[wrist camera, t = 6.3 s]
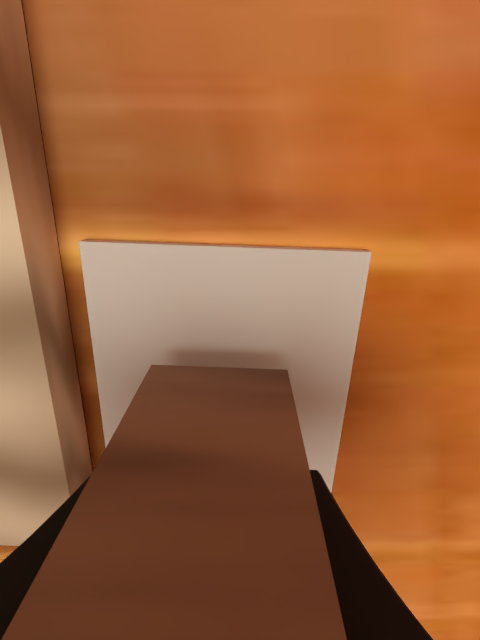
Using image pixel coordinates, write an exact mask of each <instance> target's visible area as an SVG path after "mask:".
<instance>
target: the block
mask: <svg viewBox="0 0 480 640" xmlns="http://www.w3.org/2000/svg"><path fill="white" fill-rule="evenodd" d="M1 640H347V638H346V633H345V629H344V624H343V620H342V615H341V611H340V606H339V602H338V597H337V593H336V588H335V583H334V579H333V574H332V570H331V565H330V561H329V556H328V552H327V547H326V543H325V538H324V533H323V529H322V524H321V520H320V515H319V511H318V506H317V502H316V497H315V492H314V488H313V483H312V479H311V474H310V470H309V465H308V461H307V456H306V452H305V447H304V442H303V438H302V433H301V429H300V424H299V420H298V415H297V411H296V406H295V402H294V397H293V392H292V388H291V383H290V379H289V374H288V370H282V369H255V368H228V367H201V366H174V365H151V366H150V368H149V370H148V372H147V374H146V375H145V377H144V379H143V381H142V383H141V385H140V386H139V388H138V390H137V392H136V394H135V396H134V397H133V399H132V401H131V403H130V405H129V407H128V408H127V410H126V412H125V414H124V416H123V418H122V419H121V421H120V423H119V425H118V427H117V429H116V430H115V432H114V434H113V436H112V438H111V440H110V441H109V443H108V445H107V447H106V449H105V451H104V452H103V454H102V456H101V458H100V460H99V462H98V463H97V465H96V467H95V469H94V471H93V473H92V474H91V476H90V478H89V480H88V482H87V484H86V485H85V487H84V489H83V491H82V493H81V495H80V496H79V498H78V500H77V502H76V504H75V506H74V507H73V509H72V511H71V513H70V515H69V517H68V518H67V520H66V522H65V524H64V526H63V528H62V529H61V531H60V533H59V535H58V537H57V539H56V540H55V542H54V544H53V546H52V548H51V550H50V551H49V553H48V555H47V557H46V559H45V561H44V562H43V564H42V566H41V568H40V570H39V572H38V573H37V575H36V577H35V579H34V581H33V583H32V584H31V586H30V588H29V590H28V592H27V594H26V595H25V597H24V599H23V601H22V603H21V605H20V606H19V608H18V610H17V612H16V614H15V616H14V617H13V619H12V621H11V623H10V625H9V627H8V628H7V630H6V632H5V634H4V636H3V638H2V639H1Z"/></svg>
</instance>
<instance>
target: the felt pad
mask: <svg viewBox="0 0 480 640" xmlns="http://www.w3.org/2000/svg"><path fill="white" fill-rule="evenodd" d="M79 247H80V255H81V263H82V270H83V278H84V286H85V293H86V301H87V309H88V316H89V324H90V332H91V339H92V347H93V355H94V363H95V370H96V378H97V386H98V393H99V401H100V409H101V416H102V424H103V432H104V439H105V447H107V445H108V443H109V441H110V440H111V438H112V436H113V434H114V432H115V430H116V429H117V427H118V425H119V423H120V421H121V419H122V418H123V416H124V414H125V412H126V410H127V408H128V407H129V405H130V403H131V401H132V399H133V397H134V396H135V394H136V392H137V390H138V388H139V386H140V385H141V383H142V381H143V379H144V377H145V375H146V374H147V372H148V370H149V368H150V366H151V365H174V366H201V367H228V368H255V369H282V370H288V374H289V379H290V383H291V388H292V392H293V397H294V402H295V406H296V411H297V415H298V420H299V424H300V429H301V433H302V438H303V442H304V447H305V452H306V456H307V461H308V465H309V470H318V472H319V473H320V474H321V475H322V477H323V479H324V481H325V483H326V485H327V487H328V489H329V490H330V492H331V491H332V485H333V479H334V473H335V467H336V461H337V456H338V450H339V444H340V438H341V432H342V426H343V420H344V414H345V408H346V402H347V396H348V390H349V384H350V378H351V372H352V366H353V360H354V354H355V348H356V342H357V336H358V330H359V324H360V318H361V312H362V306H363V300H364V294H365V288H366V282H367V276H368V270H369V264H370V258H371V252H370V251H368V250H360V249H333V248H306V247H278V246H251V245H224V244H196V243H169V242H142V241H115V240H87V239H85V240H82V241H79Z"/></svg>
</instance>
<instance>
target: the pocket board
mask: <svg viewBox="0 0 480 640" xmlns="http://www.w3.org/2000/svg"><path fill="white" fill-rule="evenodd" d="M92 473H93V472H92V465H91V459H90V452H89V445H88V439H87V432H86V426H85V419H84V412H83V406H82V399H81V393H80V386H79V379H78V373H77V366H76V360H75V353H74V346H73V340H72V333H71V326H70V320H69V313H68V307H67V300H66V293H65V287H64V280H63V274H62V267H61V260H60V254H59V247H58V241H57V234H56V227H55V221H54V214H53V208H52V201H51V194H50V188H49V181H48V174H47V168H46V161H45V155H44V148H43V141H42V135H41V128H40V122H39V115H38V108H37V102H36V95H35V89H34V82H33V75H32V69H31V62H30V56H29V49H28V42H27V36H26V29H25V23H24V16H23V9H22V3H21V0H0V545H7V546H20V545H21V544H22V543H23V542H24V541H25V540H26V539H27V538H28V537H30V536H31V535H32V534H33V533H34V532H35V531H36V530H37V529H38V528H39V527H40V526H41V525H42V524H43V523H44V522H45V521H46V520H47V519H48V518H49V517H50V516H51V515H52V514H53V513H54V512H55V511H56V510H57V509H58V508H59V507H60V506H61V505H62V504H63V503H64V502H65V501H66V500H67V499H68V498H69V497H70V496H71V495H72V494H73V493H74V492H75V491H76V490H77V489H78V488H79V486H80V485H81V484H82V483H83V482H84V481H85V480H86V479H87V478H88V477H89V476H90V475H91V474H92Z"/></svg>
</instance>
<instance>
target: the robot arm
mask: <svg viewBox="0 0 480 640" xmlns="http://www.w3.org/2000/svg"><path fill="white" fill-rule="evenodd" d="M310 474H311V479H312V483H313V488H314V492H315V497H316V502H317V506H318V511H319V515H320V520H321V524H322V529H323V533H324V538H325V543H326V547H327V552H328V556H329V561H330V565H331V570H332V574H333V579H334V583H335V588H336V593H337V597H338V602H339V606H340V611H341V615H342V620H343V624H344V629H345V633H346V638H347V640H433V639H432V638H431V636H430V635H429V634H428V633H427V631H426V630H425V629H424V628H423V626H422V625H421V624H420V623H419V621H418V620H417V619H416V618H415V616H414V615H413V614H412V613H411V611H410V610H409V609H408V607H407V606H406V605H405V603H404V602H403V601H402V599H401V598H400V597H399V595H398V594H397V593H396V591H395V590H394V589H393V587H392V586H391V585H390V583H389V582H388V580H387V579H386V578H385V576H384V575H383V573H382V572H381V571H380V569H379V568H378V566H377V565H376V563H375V562H374V561H373V559H372V558H371V556H370V555H369V553H368V552H367V550H366V549H365V547H364V546H363V544H362V543H361V541H360V540H359V538H358V537H357V535H356V533H355V532H354V530H353V529H352V527H351V526H350V524H349V523H348V521H347V519H346V518H345V516H344V514H343V513H342V511H341V509H340V508H339V506H338V504H337V503H336V501H335V499H334V497H333V496H332V494H331V492H330V490H329V489H328V487H327V485H326V483H325V481H324V479H323V477H322V475H321V474H320V473H319V472H318V470H310ZM90 476H91V475H90ZM90 476H89V477H88V478H87V479H86V480H85V481H84V482H83V483H82V484H81V485H80V486H79V488H78V489H77V490H76V491H75V492H74V493H73V494H72V495H71V496H70V497H69V498H68V499H67V500H66V501H65V502H64V503H63V504H62V505H61V506H60V507H59V508H58V509H57V510H56V511H55V512H54V513H53V514H52V515H51V516H50V517H49V518H48V519H47V520H46V521H45V522H44V523H43V524H42V525H41V526H40V527H39V528H38V529H37V530H36V531H35V532H34V533H33V534H32V535H31V536H30V537H28V538H27V539H26V540H25V541H24V542H23V543H22V544H21V545H20V546H19V547H18V548H17V549H15V550H14V551H13V552H12V553H11V554H10V555H9V556H8V557H7V558H6V559H5V560H3V561H2V562H1V563H0V640H1V639H2V638H3V636H4V634H5V632H6V630H7V628H8V627H9V625H10V623H11V621H12V619H13V617H14V616H15V614H16V612H17V610H18V608H19V606H20V605H21V603H22V601H23V599H24V597H25V595H26V594H27V592H28V590H29V588H30V586H31V584H32V583H33V581H34V579H35V577H36V575H37V573H38V572H39V570H40V568H41V566H42V564H43V562H44V561H45V559H46V557H47V555H48V553H49V551H50V550H51V548H52V546H53V544H54V542H55V540H56V539H57V537H58V535H59V533H60V531H61V529H62V528H63V526H64V524H65V522H66V520H67V518H68V517H69V515H70V513H71V511H72V509H73V507H74V506H75V504H76V502H77V500H78V498H79V496H80V495H81V493H82V491H83V489H84V487H85V485H86V484H87V482H88V480H89V478H90Z"/></svg>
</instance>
